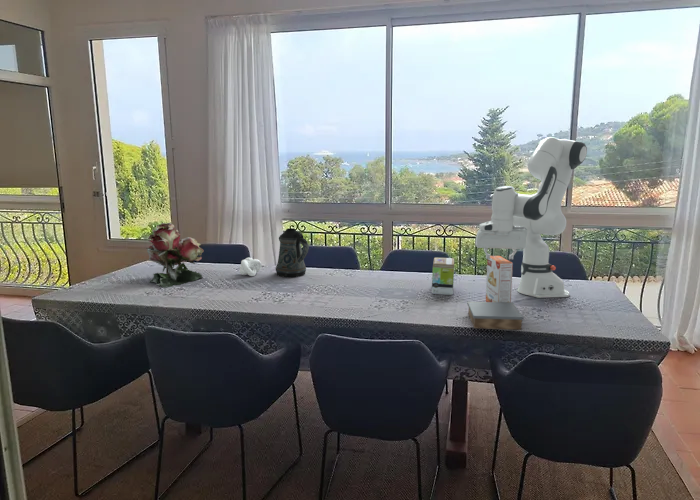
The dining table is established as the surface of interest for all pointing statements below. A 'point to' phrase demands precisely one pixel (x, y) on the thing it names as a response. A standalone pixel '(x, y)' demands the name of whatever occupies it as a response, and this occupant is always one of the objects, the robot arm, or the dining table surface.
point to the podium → (495, 315)
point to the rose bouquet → (173, 256)
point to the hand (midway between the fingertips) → (499, 258)
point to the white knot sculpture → (250, 266)
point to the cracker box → (499, 279)
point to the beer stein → (291, 254)
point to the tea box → (443, 276)
